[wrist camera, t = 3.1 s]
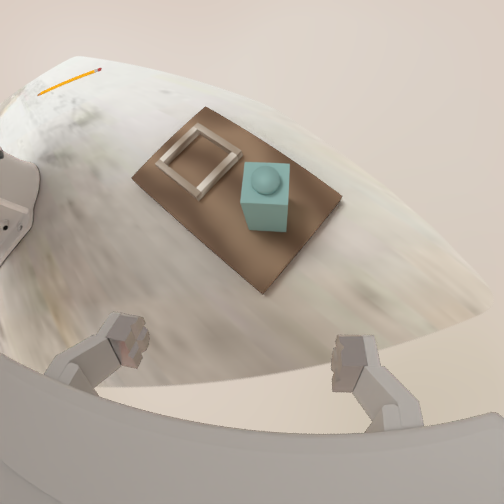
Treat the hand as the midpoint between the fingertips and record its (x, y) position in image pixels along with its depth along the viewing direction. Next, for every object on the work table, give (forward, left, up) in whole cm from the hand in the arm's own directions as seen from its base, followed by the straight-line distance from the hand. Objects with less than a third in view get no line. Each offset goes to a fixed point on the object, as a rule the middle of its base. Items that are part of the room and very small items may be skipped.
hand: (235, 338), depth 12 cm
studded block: (+10, +7, -18) cm, 22 cm away
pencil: (+8, +62, -20) cm, 65 cm away
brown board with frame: (+10, +13, -20) cm, 26 cm away
